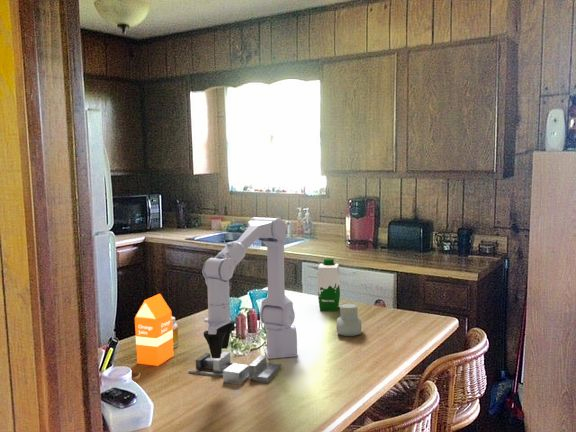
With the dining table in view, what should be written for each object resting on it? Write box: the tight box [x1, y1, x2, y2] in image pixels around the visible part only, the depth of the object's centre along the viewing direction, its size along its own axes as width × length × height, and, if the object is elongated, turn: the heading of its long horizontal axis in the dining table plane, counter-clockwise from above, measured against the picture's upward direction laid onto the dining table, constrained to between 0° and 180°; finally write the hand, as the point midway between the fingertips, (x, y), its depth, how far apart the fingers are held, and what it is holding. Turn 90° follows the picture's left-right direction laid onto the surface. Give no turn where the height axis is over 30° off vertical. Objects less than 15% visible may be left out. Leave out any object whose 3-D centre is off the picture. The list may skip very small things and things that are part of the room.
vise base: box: [188, 354, 282, 384], centre depth 156 cm, size 25×10×4 cm, turn 70°
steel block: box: [222, 362, 250, 385], centre depth 150 cm, size 5×6×4 cm
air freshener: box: [336, 303, 362, 337], centre depth 186 cm, size 11×8×10 cm
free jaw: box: [195, 351, 232, 374], centre depth 159 cm, size 8×7×4 cm
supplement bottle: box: [172, 316, 180, 349], centre depth 179 cm, size 5×5×10 cm
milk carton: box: [316, 257, 341, 312], centre depth 217 cm, size 9×9×20 cm
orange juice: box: [134, 293, 175, 366], centre depth 167 cm, size 8×9×20 cm
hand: (220, 352), depth 144 cm, fingers open, 7 cm apart
